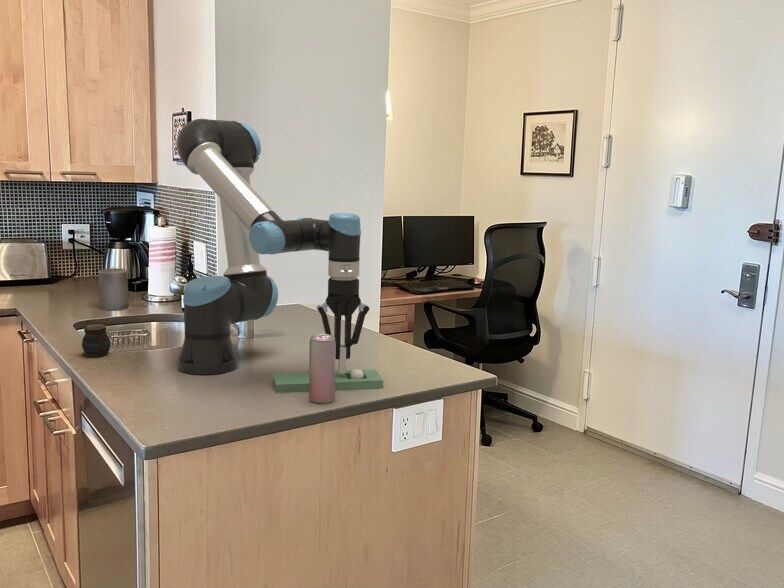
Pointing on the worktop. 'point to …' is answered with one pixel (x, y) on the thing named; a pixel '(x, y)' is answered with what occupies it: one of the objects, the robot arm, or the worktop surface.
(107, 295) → the pillar candle
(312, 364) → the beverage can
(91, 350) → the mate gourd
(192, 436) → the worktop surface
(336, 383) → the green rectangular board
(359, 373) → the white ball
